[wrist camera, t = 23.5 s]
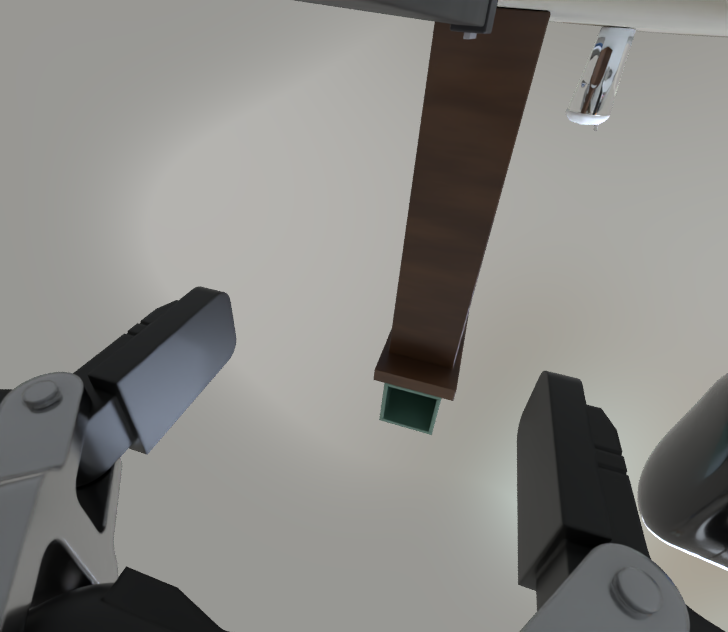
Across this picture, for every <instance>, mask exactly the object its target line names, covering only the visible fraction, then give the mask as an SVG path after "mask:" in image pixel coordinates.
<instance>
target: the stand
mask: <svg viewBox="0 0 728 632" xmlns="http://www.w3.org/2000/svg"><path fill="white" fill-rule="evenodd" d="M549 17H550V12H547V11H534V10H520V9H507V8H496V13H495V17H494V22H493V27H492V32H491V33H490V34H479V33H477V35H476V38H475V39H463V36H464V32H456V31H451V30H450V24H448V23H442V22H435V25H434V31H433V39H432V46H431V53H430V60H429V68H428V75H427V82H426V89H425V96H424V103H423V110H422V117H421V125H420V132H419V139H418V146H417V154H416V161H415V168H414V175H413V182H412V189H411V196H410V203H409V211H408V217H407V225H406V232H405V239H404V246H403V253H402V260H401V268H400V276H399V282H398V289H397V296H396V303H395V310H394V318H393V325H392V330H391V332H390V334H389V336H388V339H387V342H386V344H385V346H384V349H383V351H382V353H381V356H380V358H379V361H378V363H377V366H376V368H375V372H374V380H377V381H381V382H384V383H388V384H392V385H396V386H399V387H403V388H407V389H410V390H414V391H418V392H422V393H425V394H429V395H433V396H437V397H440V398H444V399H448V400H451V401H453V400H454V397H455V393H456V389H457V383H458V377H459V370H460V364H461V358H462V352H463V346H464V339H465V333H466V326H467V321H468V314H469V308H470V305H471V301H472V297H473V294H474V290H475V287H476V282H477V279H478V276H479V272H480V268H481V265H482V261H483V257H484V254H485V250H486V246H487V242H488V239H489V236H490V232H491V228H492V225H493V221H494V217H495V214H496V210H497V206H498V203H499V199H500V196H501V192H502V188H503V185H504V181H505V177H506V174H507V170H508V166H509V163H510V159H511V156H512V152H513V148H514V145H515V141H516V137H517V134H518V130H519V126H520V123H521V119H522V116H523V111H524V108H525V104H526V101H527V97H528V94H529V90H530V86H531V83H532V79H533V76H534V72H535V68H536V64H537V61H538V57H539V54H540V50H541V46H542V43H543V39H544V35H545V32H546V28H547V25H548V21H549Z"/></svg>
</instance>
